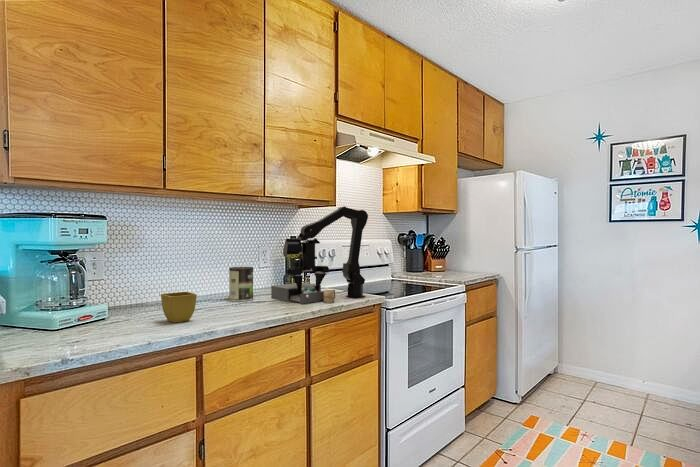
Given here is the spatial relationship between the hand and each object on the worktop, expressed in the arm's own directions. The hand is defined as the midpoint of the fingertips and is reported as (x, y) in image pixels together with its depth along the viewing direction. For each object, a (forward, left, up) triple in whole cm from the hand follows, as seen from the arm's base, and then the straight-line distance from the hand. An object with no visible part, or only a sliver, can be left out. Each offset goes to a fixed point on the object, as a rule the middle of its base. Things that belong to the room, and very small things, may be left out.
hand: (308, 290), depth 173 cm
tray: (0, 0, -4) cm, 4 cm away
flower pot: (+56, +4, -5) cm, 56 cm away
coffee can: (+21, -21, -5) cm, 30 cm away
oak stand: (-3, +10, -4) cm, 11 cm away
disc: (0, 0, -1) cm, 1 cm away
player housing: (0, -9, -4) cm, 10 cm away
